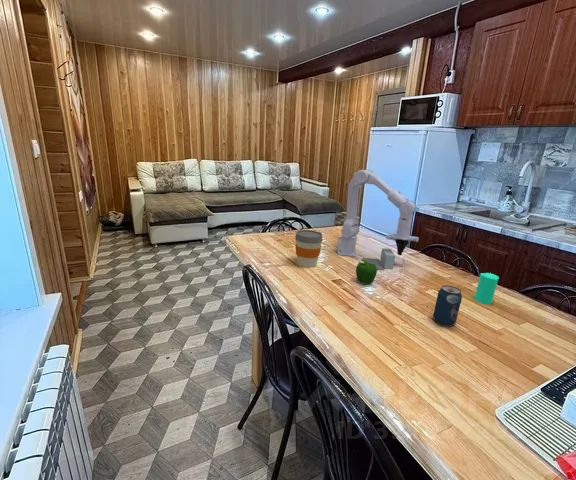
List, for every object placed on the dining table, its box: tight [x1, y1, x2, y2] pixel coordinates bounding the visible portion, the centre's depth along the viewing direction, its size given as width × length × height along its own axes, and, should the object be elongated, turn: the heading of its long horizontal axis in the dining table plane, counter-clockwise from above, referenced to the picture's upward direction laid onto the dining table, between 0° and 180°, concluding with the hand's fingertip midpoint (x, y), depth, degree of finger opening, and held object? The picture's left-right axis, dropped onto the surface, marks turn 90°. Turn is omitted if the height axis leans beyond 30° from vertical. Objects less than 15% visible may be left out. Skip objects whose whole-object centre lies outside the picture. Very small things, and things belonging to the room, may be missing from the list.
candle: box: [474, 271, 500, 305], centre depth 119 cm, size 6×6×12 cm
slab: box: [379, 248, 396, 271], centre depth 150 cm, size 4×10×7 cm, turn 175°
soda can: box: [432, 284, 463, 327], centre depth 102 cm, size 7×7×12 cm
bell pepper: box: [355, 259, 378, 285], centre depth 130 cm, size 8×8×10 cm
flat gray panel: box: [362, 257, 385, 271], centre depth 152 cm, size 8×14×1 cm, turn 175°
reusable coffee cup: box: [294, 229, 323, 269], centre depth 145 cm, size 13×13×15 cm
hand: (399, 254), depth 149 cm, fingers closed
